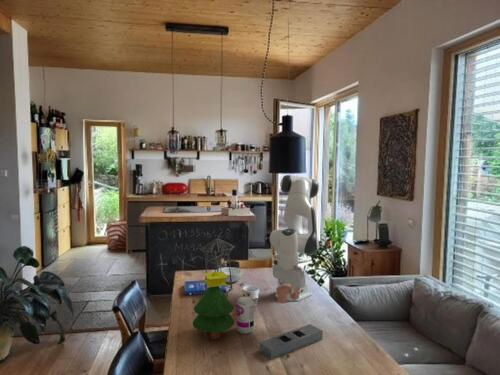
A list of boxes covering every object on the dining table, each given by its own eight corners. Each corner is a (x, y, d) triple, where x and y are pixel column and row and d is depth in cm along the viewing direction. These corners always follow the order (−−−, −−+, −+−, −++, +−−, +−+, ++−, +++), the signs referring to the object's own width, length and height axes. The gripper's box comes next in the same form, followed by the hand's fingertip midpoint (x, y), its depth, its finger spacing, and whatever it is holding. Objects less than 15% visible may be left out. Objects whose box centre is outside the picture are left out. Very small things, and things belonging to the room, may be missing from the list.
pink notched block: (295, 295, 183) (295, 282, 182) (300, 298, 180) (300, 284, 179) (276, 301, 176) (276, 287, 175) (281, 304, 173) (281, 289, 172)
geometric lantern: (221, 304, 205) (220, 242, 202) (199, 299, 213) (198, 239, 210) (237, 295, 218) (236, 237, 215) (216, 290, 227) (214, 234, 224)
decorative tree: (188, 329, 175) (188, 267, 172) (226, 323, 182) (227, 263, 180) (198, 349, 157) (198, 280, 155) (240, 341, 164) (240, 275, 162)
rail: (309, 332, 174) (310, 324, 173) (322, 339, 167) (322, 330, 167) (259, 351, 156) (259, 342, 156) (270, 359, 150) (271, 350, 149)
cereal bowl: (241, 285, 236) (241, 274, 235) (215, 285, 236) (215, 274, 235) (242, 276, 252) (242, 266, 252) (218, 276, 253) (218, 266, 252)
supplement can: (241, 335, 170) (241, 304, 168) (233, 328, 177) (234, 297, 176) (256, 331, 173) (257, 301, 172) (248, 324, 181) (249, 295, 179)
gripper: (308, 267, 170) (308, 296, 171) (280, 257, 186) (280, 283, 188) (298, 270, 166) (298, 299, 167) (270, 259, 183) (270, 286, 184)
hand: (288, 291), depth 178 cm, fingers closed on pink notched block, 3 cm apart
